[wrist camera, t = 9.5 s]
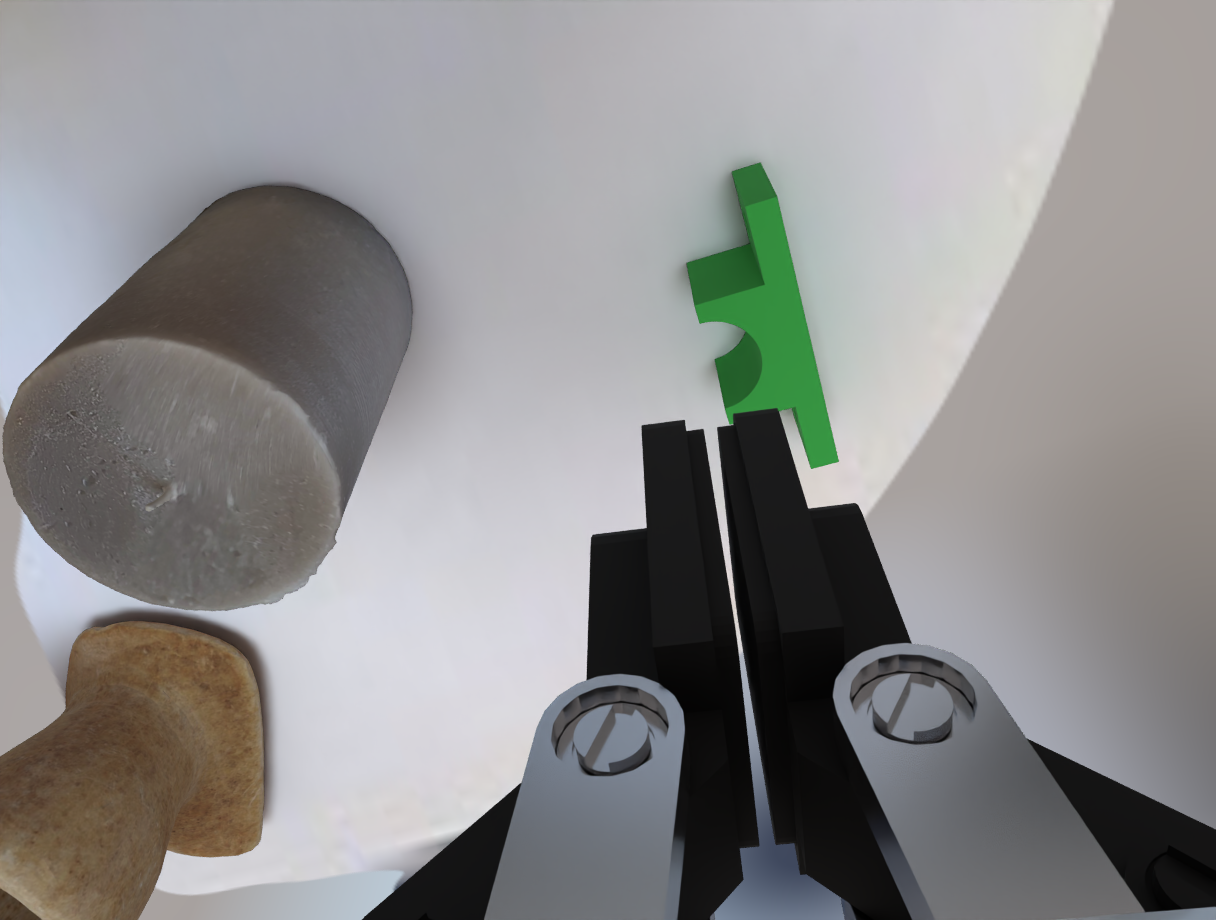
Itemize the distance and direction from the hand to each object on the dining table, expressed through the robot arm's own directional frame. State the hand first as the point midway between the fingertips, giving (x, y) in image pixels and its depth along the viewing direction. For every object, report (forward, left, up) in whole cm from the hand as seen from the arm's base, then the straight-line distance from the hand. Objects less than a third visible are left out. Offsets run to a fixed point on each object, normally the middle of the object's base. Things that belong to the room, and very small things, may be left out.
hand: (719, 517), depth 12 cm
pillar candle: (-10, -13, -27) cm, 32 cm away
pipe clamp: (+7, -6, -28) cm, 29 cm away
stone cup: (-12, -39, -27) cm, 49 cm away
